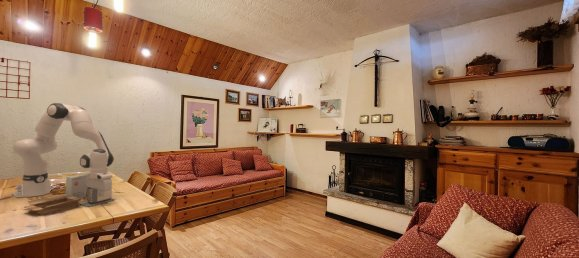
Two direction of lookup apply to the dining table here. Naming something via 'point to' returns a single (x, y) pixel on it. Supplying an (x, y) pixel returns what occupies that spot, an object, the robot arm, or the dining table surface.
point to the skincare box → (77, 186)
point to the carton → (53, 204)
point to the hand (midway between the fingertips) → (98, 195)
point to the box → (97, 195)
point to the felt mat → (96, 202)
